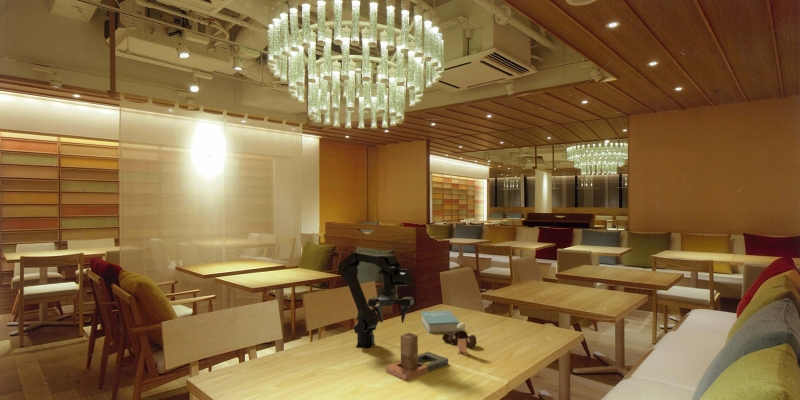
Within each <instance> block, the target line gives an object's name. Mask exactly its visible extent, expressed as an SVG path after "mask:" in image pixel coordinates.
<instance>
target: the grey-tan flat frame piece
mask: <svg viewBox="0 0 800 400" xmlns="http://www.w3.org/2000/svg"><path fill="white" fill-rule="evenodd" d="M424 361H427V362H428V363H422V362H424ZM447 365H449V358H447V357H445V356H442V355H439V354H437V353H433V352H430V351H425V352H423V353H418V367H417V368H415V369H412V370H406V369H404V368H402V367H401V360H400V361H397V362H393V363H391V364H388V365H385V372H386V373H388V374H389V375H392V376H395V377H396V378H399V379H401V380H404V381H409V380H411V379H414V378H416V377H419V376H422V375H424V374H427V373H430V372H431V371H435V370H436V369H439V368H441V367H444V366H447Z"/></svg>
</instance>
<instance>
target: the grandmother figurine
mask: <svg viewBox="0 0 800 400" xmlns="http://www.w3.org/2000/svg"><path fill="white" fill-rule="evenodd" d="M459 322H460V321H459ZM465 327H466V324H465V322H463V321H461V322H460V323H459V324H458V326H457V328H458V329H459V330H460V331H457V332H453V333H454V336H453V339H455V337H456V336H458V343H457V351H458V352H457V354H458V355H463V356H466V355H467V356H468V355H469V352H468V350H467V345H466V339H467V342H468V343H469V342H470V340H469V336H470V335H468V333H467V332H466V331H465ZM465 337H466V339H465Z"/></svg>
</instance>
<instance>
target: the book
mask: <svg viewBox="0 0 800 400" xmlns="http://www.w3.org/2000/svg"><path fill="white" fill-rule="evenodd" d="M420 314H421V319H420V321H421V323H422V324H423V326H424V327H425V329H426V331H427V333H428V334H436V333H437V334H439V333H441V334H442V333H455V332H457V331H460V330H459V329H458V328H457V326H458V324H459V323H460V321H459V320H458V318H457V317H456V316H454V314H453V313H452V312H451V311H450V310H449V309H448V310H430V311H429V310H428V311H424V310H423V311H420Z"/></svg>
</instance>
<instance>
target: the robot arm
mask: <svg viewBox="0 0 800 400" xmlns="http://www.w3.org/2000/svg"><path fill="white" fill-rule="evenodd" d="M361 262H362V263H367V264H372V265H375V266H376V267H377V268H379V269H380V270H378V272H377V274H378V275H381V279H382V288H381V294H380V295H379V296H372V297H371V298H369V299H368V300H367V299H366V297H365V294H364V292H363V291H364V290H363V289H362V287H361V283H360V281H359V279H358V273H359V269H358V266H360V264H361ZM337 270H338V272H339V275H340V276H341V278H343V280H345V282H346V283H347V285H348V288H349V291H350V293H351V297H352V299H353V301H354V304H355V306H356V309H357V316H356V317H357V318H356V320H357V324H356V325H355V326H354V327H353V331H354V333H355V334H357V344H356V345H355V347H356V348H362V349H370V348H371V347H373V346H374V345H375V343H376V342H375V334H374V331H376V330H377V327H378V324H379V321H380V323H383V321H384V315H383V307H391V306H392V305H401V306H400V309H401V312H400V313H401V315H400V316H401V317H400V318H401V323H402V324H403V323H404V321H405V318H406V315H407V311H408V310H409V308H410V307H411V306H412V305H413V304H415V300H414V299H415V298H414V297H413V296H404V297H402V298H400V299H399V295H398V291H397V290H398V286H400V287H401V286H404V287H409V286H411V285H412V283H413V276H412V273H411V272H409V271H410V270H409V268H403V267H402V265H401V263H400V262H399V259H398V258H397V256H396V254H393V253H391V254H390V253H389V254H377V253H371V252H365V251H361V250H357V251H352V252H350V254H349V255H348V256H347V257H345V258H343V260H342V261H340V262H339V263H338V266H337Z"/></svg>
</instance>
